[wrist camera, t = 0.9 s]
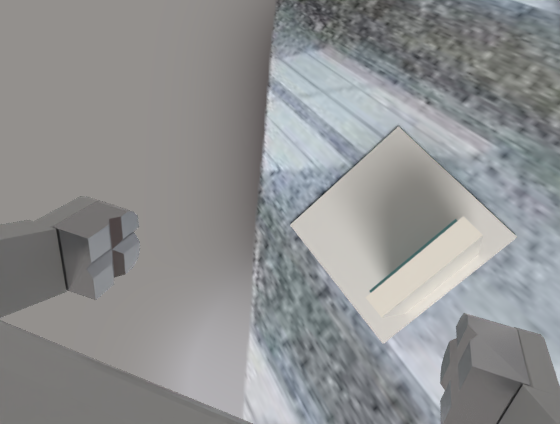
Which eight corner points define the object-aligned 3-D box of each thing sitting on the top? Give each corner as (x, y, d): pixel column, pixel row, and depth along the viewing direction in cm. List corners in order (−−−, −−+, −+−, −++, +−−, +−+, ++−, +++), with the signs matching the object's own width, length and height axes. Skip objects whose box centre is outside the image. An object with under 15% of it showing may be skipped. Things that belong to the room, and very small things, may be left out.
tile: (462, 238, 45) (460, 213, 32) (478, 254, 44) (483, 235, 31) (390, 297, 47) (363, 294, 34) (404, 313, 46) (381, 317, 33)
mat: (399, 127, 51) (398, 126, 50) (516, 237, 43) (517, 237, 43) (291, 225, 54) (290, 224, 53) (383, 343, 46) (383, 343, 46)
